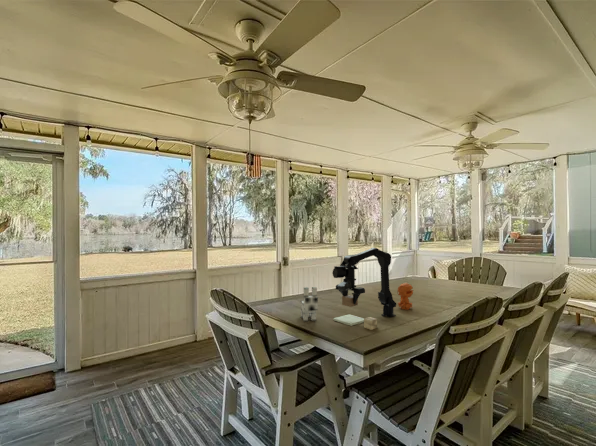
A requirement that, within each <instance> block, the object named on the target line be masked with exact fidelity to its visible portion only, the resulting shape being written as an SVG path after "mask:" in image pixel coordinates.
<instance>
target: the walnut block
mask: <svg viewBox="0 0 596 446" xmlns="http://www.w3.org/2000/svg"><path fill="white" fill-rule="evenodd" d="M358 301H359V298H358V299H357V301H356V304H354V303H353V295H352V294H348V295H347V296H343V295H342V297H341V305H342V306H346V307H349V308H352V307H354V306H358V305H359V302H358Z"/></svg>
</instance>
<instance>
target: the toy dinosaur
mask: <svg viewBox="0 0 596 446" xmlns="http://www.w3.org/2000/svg"><path fill="white" fill-rule="evenodd" d="M396 290H397V295H398V296H400V301H399V302H397V305H398V308H400V309H401V310H406V311H408V310H410V309H413V302H410V300H409V298H411V297H412V295H413V293H414V290H413V286H412V284H410V283H408V282H404V283H401V284H400V285H399V286H398V287H397V289H396Z"/></svg>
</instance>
